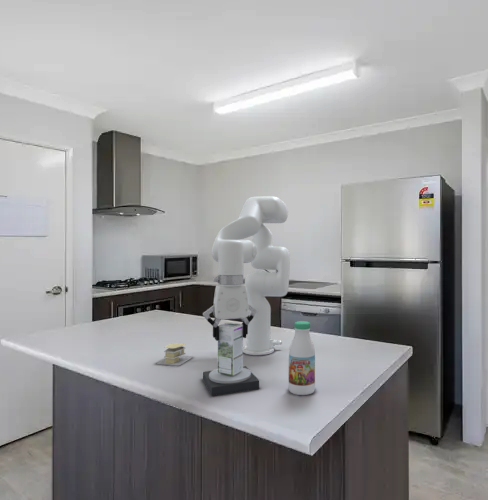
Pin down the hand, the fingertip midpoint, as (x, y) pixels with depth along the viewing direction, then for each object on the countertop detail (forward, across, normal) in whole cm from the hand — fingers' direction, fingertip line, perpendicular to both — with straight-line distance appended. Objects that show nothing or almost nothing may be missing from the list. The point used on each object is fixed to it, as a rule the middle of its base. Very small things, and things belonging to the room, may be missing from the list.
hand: (230, 338), depth 112 cm
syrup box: (+11, 0, 0) cm, 11 cm away
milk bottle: (+14, +18, -13) cm, 26 cm away
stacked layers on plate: (+14, -13, +30) cm, 36 cm away
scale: (+14, 0, 0) cm, 14 cm away
